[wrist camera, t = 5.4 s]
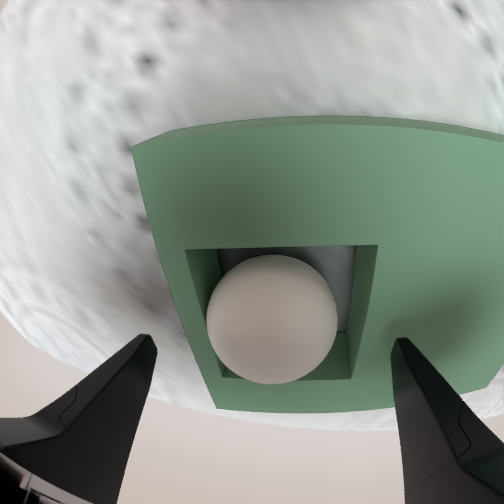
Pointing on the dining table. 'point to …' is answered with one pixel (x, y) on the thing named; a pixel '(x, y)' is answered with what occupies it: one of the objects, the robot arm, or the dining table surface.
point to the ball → (272, 319)
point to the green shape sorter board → (340, 242)
